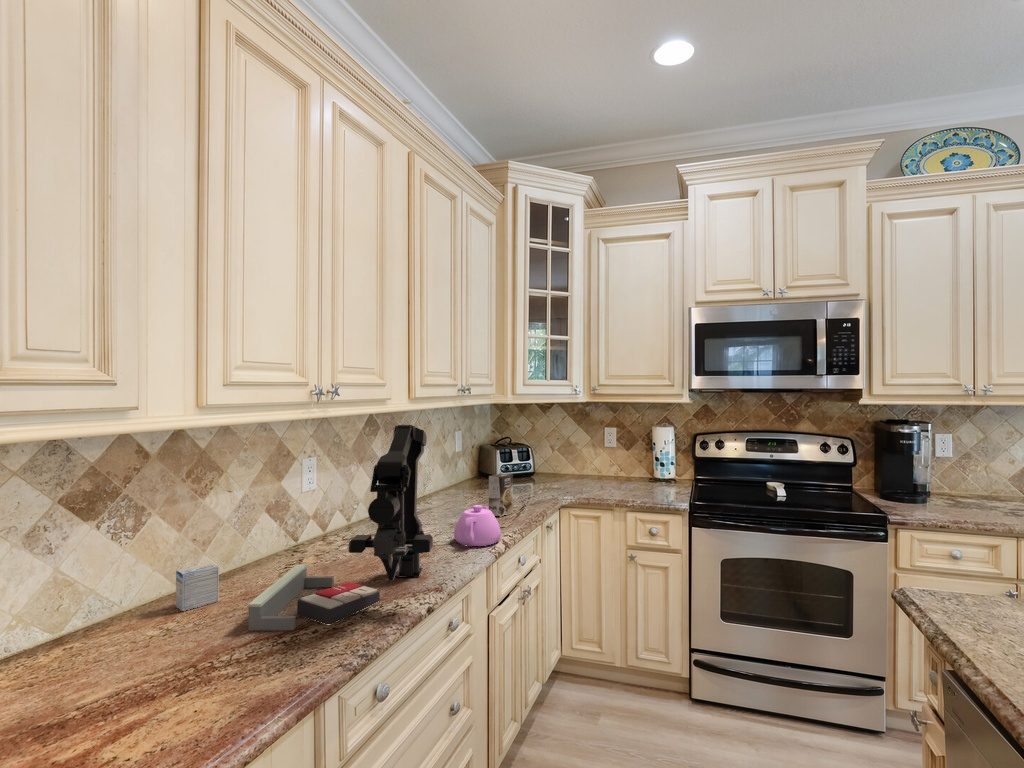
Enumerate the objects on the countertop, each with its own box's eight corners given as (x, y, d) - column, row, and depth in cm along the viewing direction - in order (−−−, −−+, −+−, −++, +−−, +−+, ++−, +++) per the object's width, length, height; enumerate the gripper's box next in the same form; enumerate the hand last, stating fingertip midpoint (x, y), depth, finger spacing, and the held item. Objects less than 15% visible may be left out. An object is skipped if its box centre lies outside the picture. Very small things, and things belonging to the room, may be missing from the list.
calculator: (380, 588, 130) (329, 606, 117) (380, 606, 130) (328, 627, 117) (348, 580, 136) (296, 596, 123) (348, 597, 135) (296, 616, 123)
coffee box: (501, 517, 215) (501, 477, 215) (488, 516, 219) (488, 475, 219) (513, 513, 223) (513, 473, 223) (500, 511, 226) (500, 472, 227)
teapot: (492, 552, 170) (491, 513, 170) (444, 549, 173) (444, 511, 173) (507, 534, 191) (507, 499, 191) (465, 532, 194) (465, 498, 194)
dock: (296, 586, 141) (296, 564, 141) (333, 585, 141) (333, 564, 141) (248, 630, 115) (248, 604, 115) (293, 630, 115) (293, 603, 115)
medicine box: (211, 597, 133) (211, 562, 133) (219, 602, 130) (219, 565, 130) (175, 607, 127) (175, 570, 127) (182, 612, 124) (182, 574, 124)
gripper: (341, 522, 120) (341, 593, 120) (425, 521, 120) (426, 592, 120) (355, 510, 131) (355, 575, 131) (433, 510, 131) (433, 575, 131)
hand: (391, 580), depth 128 cm, fingers closed
